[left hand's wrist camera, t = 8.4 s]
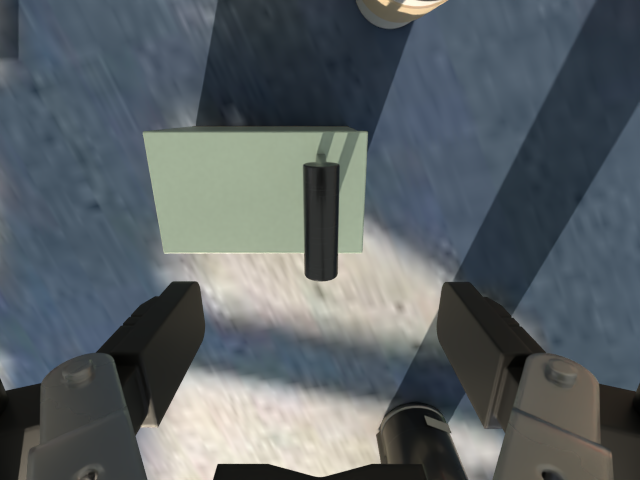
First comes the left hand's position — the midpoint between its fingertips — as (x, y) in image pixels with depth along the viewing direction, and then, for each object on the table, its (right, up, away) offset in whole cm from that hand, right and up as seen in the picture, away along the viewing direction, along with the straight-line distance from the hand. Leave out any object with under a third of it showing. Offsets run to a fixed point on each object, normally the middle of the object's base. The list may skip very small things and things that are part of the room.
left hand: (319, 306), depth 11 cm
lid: (-5, +6, +16) cm, 17 cm away
